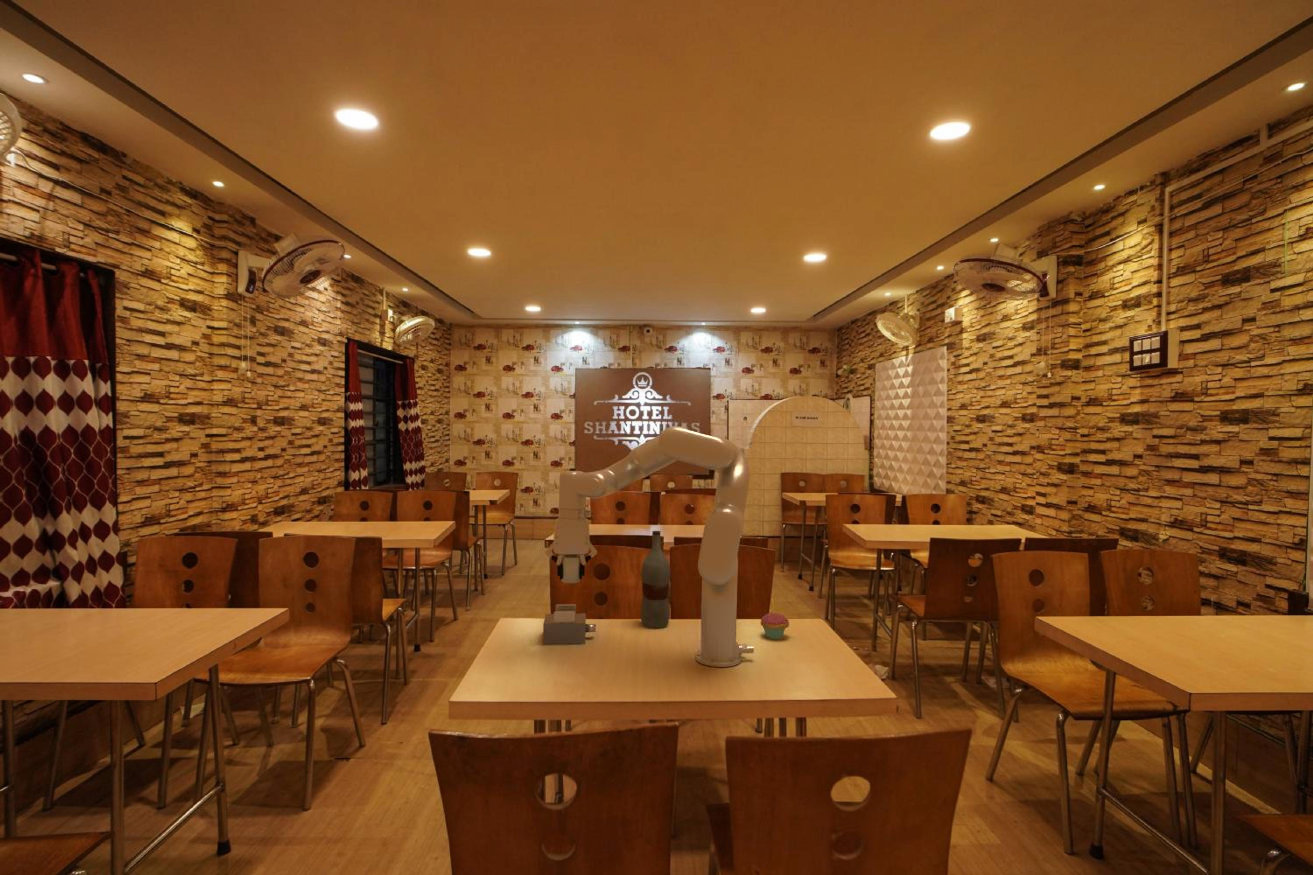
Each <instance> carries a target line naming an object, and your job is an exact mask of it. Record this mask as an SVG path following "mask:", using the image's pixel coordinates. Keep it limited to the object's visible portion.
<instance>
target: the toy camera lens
mask: <svg viewBox="0 0 1313 875" xmlns="http://www.w3.org/2000/svg"><path fill="white" fill-rule="evenodd" d="M561 562H562V579H561V582H562V583H564V584H577V583H580V582H581V581H580V580H581V579H580V562H581V559H580V556H579V555H563V558H562V561H561Z"/></svg>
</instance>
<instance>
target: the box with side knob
mask: <svg viewBox="0 0 1313 875" xmlns="http://www.w3.org/2000/svg"><path fill="white" fill-rule="evenodd" d="M576 611H577V604H567V603H566V604H555V611H554V612H553V613H545V616H544V620H543V623H542V624H543V628H542V630H543V632H542V637H543V638H542V645H544V646H545V645H550V646H551V645H585V644H586V633H596V631H597V630H596V629H597V628H596V626H597V623H587V620H586V618H587V613H577V612H576Z"/></svg>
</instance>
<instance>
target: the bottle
mask: <svg viewBox="0 0 1313 875" xmlns="http://www.w3.org/2000/svg"><path fill="white" fill-rule="evenodd" d="M651 541H652V542H651V549H650V550H649V552H648V553H647V555H646V556H645V558H644V560H643V562H642V564H641V565H642V566H641V574H640V575H641V584H642V585H641V586H642V599H641V606H640V618H641V620H640V621H641V625H642V626H643V627H644V628H646V629H651V630H652V629H653V630H658V629H659V630H660V629H664V628H667V627H668V625H669V622H670V613H671V612H670V601H669V588H670V578H671V568H670V563H669V562H670V561H669V560H668V559H667V557H666V555H665V554H664V552H663V550H662V548H661V530H652V531H651Z"/></svg>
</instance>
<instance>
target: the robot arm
mask: <svg viewBox="0 0 1313 875" xmlns="http://www.w3.org/2000/svg"><path fill="white" fill-rule="evenodd" d="M677 461H680V462H683V463H687V464H689V465H694V466H698V467H701V468H704V469H707V470H713V471H717V474H718V477H717V478H718V479H717V484H716V488H715V496H714V502H713V505H712V509H711V511H710V512H709V514H708V515H707V517H706V520H705V522H704V523H705V524H704V528H703V532H702V538H701V544H700V549H699V550H700V551H699V555H698V560H697V568H698V573H699V576H700V577H701V579H702V580H701V603H700V604H701V608H700V610H701V611H700V614H701V616H700V649H699V650H697V651H695V653H694V659H695V661H696V662H698V663H700V664H702V665H703V666H710V667H715V668H727V667H734V666H737V665H739V664H741V662H742V658H743V657H742V655H743V654H754V650H755V649H754V646H753V645H747V644H746V643H741V644H739V642H738V641H737V607H738V606H737V603H738V577H739V576H738V573H739V559H738V552H739V548H740V541H741V536H742V531H743V528H744V526H745V525H744V522H745V513H746V512H745V511H746V506H747V499H748V492H749V488H750V487H749V486H750V478H751V477H750V466H749V463H748V460H747V458H746V455H745V454H744V452H743V450H741V448H739V447H738V446H737V444H735V443H734V442H732V441H730V440H729V439H727V438H725V437H717V436H712V435H708V434H704V433H700V432H697V431H693V430H689V429H688V428H685V427H683V426H680V425H671V426H669V427H666V428H665V429H664V430H663V431H662V432H661V433H660V434H659V435H657V436H656V437H653V438H651V439H649V440H648V441H646V442H644V443H642V444H639V445H638V446H636V447H634V448H633V449H632V450H630V452H629V453H628V454H627V456H625V457H624V458H622V459H620V460H619V461H617V462H615V463H613V464H611V465H609V466H608V467H606V468H604V469H600V470H596V471H589V472H584V471H582V470H581V471H580V470H567V471H566V470H565V471H564V470H563V471H562V472H561V473H560V474H559V482H558V483H559V485H558V486H559V487H558V488H559V489H558V492H559V493H558V496H559V497H558V518H556V519H555V522H554V529H553V542H552V543H551V544H550V546H549V547H548V548H547V549H546V550H545V553H544V554H545V555H546V556H547V557H548V558H550V559H551V561H553V562H554V564H556V565H557V567H556V568H557V571H556V574H557V575H556V576H557V577H559V580H561V581H562V558H563V556H565V555H578V556H580V580H583V577H585V576H586V574H585V572H586V571H585V569H586V564H587V563H588V562H590V560H591V559H592V558H594V557H595V556H596V555H597V554H598V550H597V549H596V548H595V547H594V545H593V544H592V543H591V540H590V524H589V519H588V518H586V517H587V516H591V510H588V509H587V508H586V506H587V504H586V500H587V498H589V499H600V498H604V497H607V496H610V495H612V494H614V493H616V492H618V491H619V490H622V489H623V488H625V487H628V486H630V485H631V484H633V483H636V482H637V481H640V480H641V479H645V478H646V477H648V476H650V475H652V474H653V473H656V472H657V471H659V470H661V469H663V468H665V467H667V466H668V465H671V464H673V463H675V462H677ZM552 551H553V552H552ZM557 555H558V556H557ZM585 555H586V556H585Z"/></svg>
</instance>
